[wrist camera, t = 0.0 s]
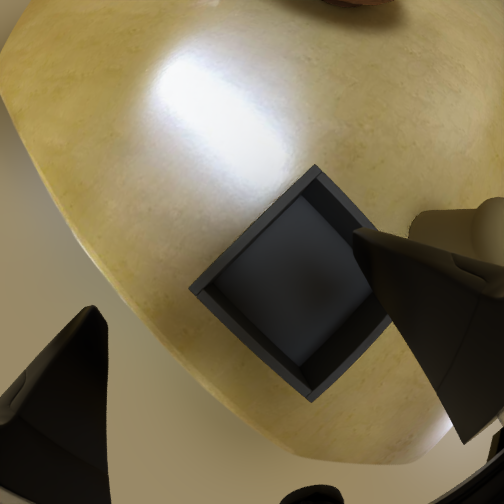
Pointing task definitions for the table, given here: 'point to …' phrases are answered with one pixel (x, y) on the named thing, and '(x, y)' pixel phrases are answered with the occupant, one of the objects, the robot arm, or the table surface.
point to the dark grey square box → (298, 286)
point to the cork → (465, 231)
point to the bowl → (356, 2)
